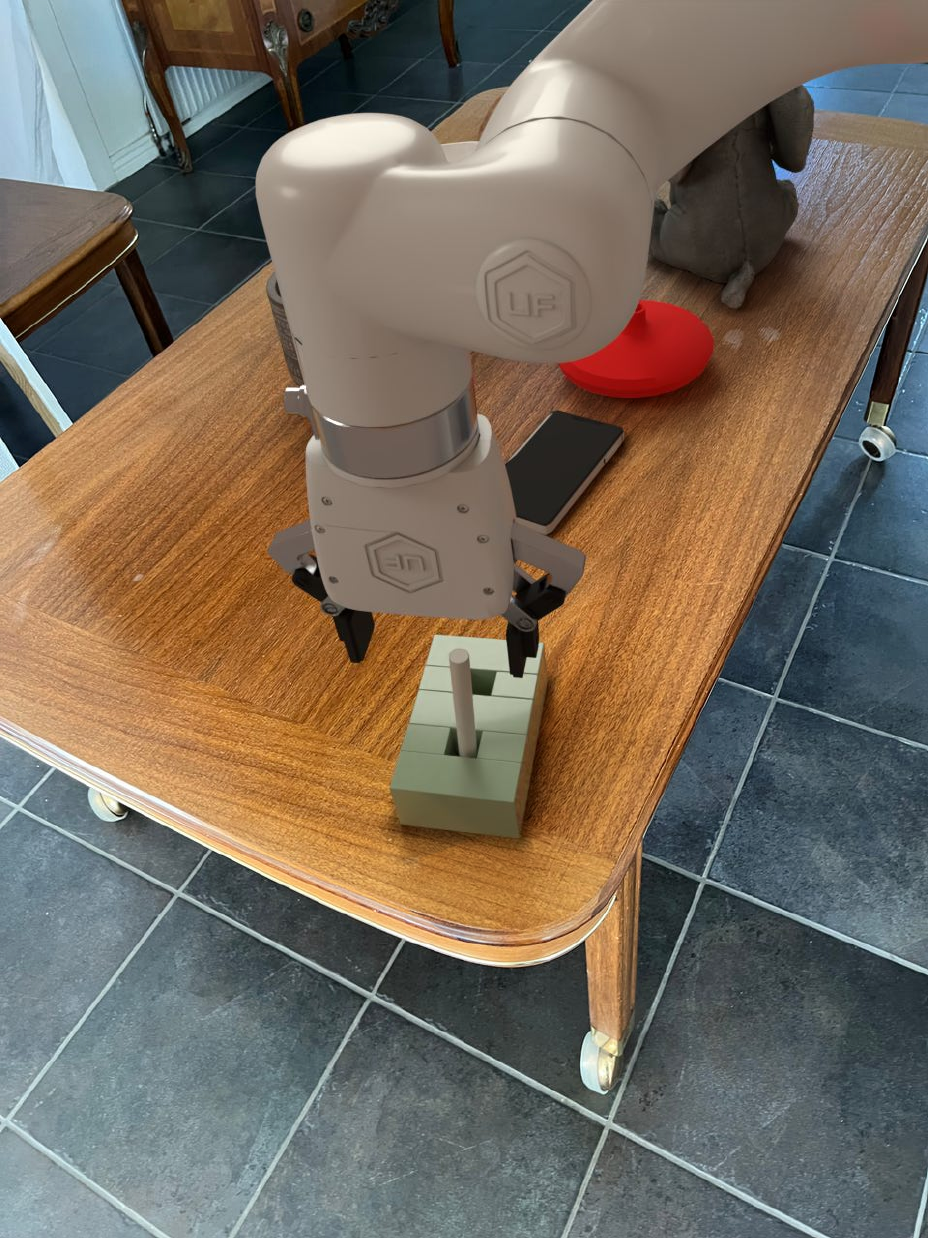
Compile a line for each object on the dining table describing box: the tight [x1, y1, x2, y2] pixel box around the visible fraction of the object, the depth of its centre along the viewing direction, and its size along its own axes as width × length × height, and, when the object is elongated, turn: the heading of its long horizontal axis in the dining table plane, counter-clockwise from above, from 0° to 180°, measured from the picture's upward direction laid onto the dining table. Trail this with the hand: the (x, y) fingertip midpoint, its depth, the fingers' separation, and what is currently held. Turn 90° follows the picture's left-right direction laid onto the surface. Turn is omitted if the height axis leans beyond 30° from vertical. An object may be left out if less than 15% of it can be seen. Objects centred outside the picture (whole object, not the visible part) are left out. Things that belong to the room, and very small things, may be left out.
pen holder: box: [388, 633, 549, 839], centre depth 67 cm, size 13×8×4 cm, turn 169°
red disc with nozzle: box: [557, 299, 715, 399], centre depth 96 cm, size 16×16×7 cm
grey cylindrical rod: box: [449, 648, 477, 759], centre depth 62 cm, size 1×1×14 cm
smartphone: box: [504, 409, 625, 536], centre depth 88 cm, size 8×1×15 cm
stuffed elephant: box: [648, 84, 815, 310], centre depth 103 cm, size 19×21×27 cm
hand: (440, 652), depth 57 cm, fingers open, 9 cm apart
